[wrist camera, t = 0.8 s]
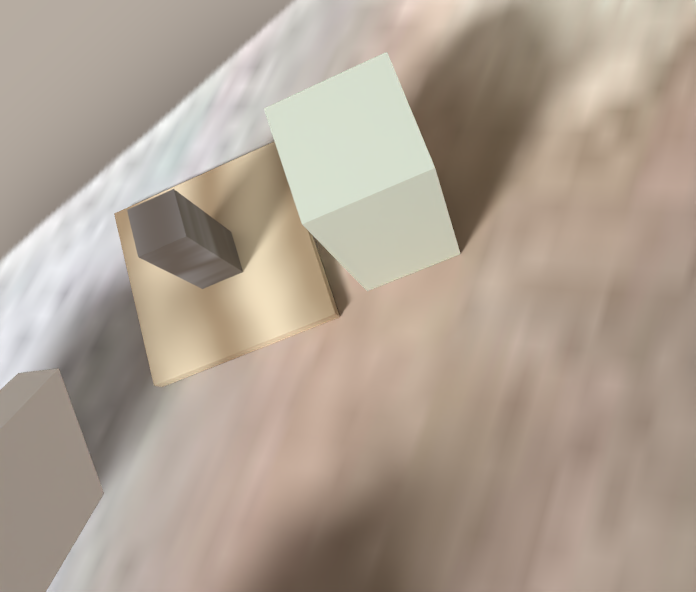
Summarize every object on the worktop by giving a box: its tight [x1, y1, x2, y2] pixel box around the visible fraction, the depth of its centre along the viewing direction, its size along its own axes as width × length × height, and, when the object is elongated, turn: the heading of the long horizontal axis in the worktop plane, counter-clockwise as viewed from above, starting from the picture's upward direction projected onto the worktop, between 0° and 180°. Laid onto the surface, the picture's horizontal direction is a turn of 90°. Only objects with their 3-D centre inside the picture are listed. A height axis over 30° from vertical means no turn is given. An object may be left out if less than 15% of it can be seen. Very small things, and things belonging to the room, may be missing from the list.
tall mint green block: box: [264, 52, 460, 291], centre depth 32 cm, size 6×6×12 cm
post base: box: [114, 142, 340, 387], centre depth 36 cm, size 12×12×8 cm
